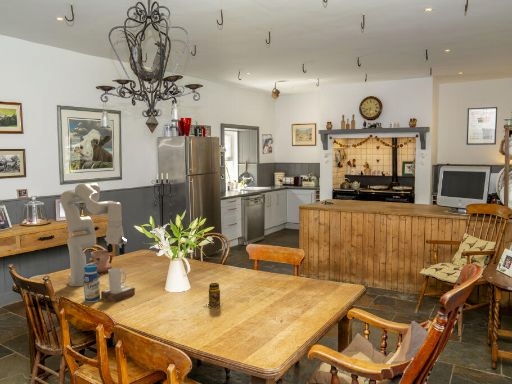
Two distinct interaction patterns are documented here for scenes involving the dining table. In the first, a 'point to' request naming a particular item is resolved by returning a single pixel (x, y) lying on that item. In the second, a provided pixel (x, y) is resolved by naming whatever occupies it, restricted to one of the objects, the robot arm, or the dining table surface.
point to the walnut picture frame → (118, 293)
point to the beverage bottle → (91, 283)
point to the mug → (116, 279)
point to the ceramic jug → (101, 260)
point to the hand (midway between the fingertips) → (116, 253)
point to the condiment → (214, 295)
